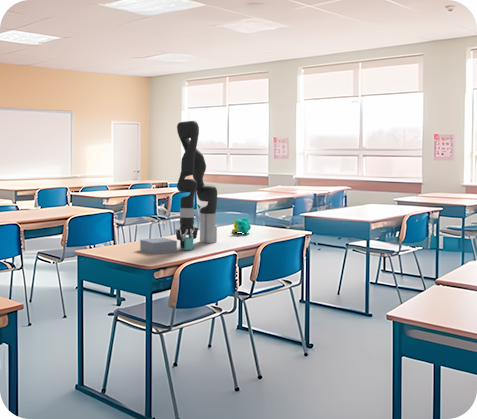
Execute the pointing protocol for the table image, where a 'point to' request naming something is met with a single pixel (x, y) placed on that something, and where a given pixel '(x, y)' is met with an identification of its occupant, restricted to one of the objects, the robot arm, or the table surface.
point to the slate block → (158, 245)
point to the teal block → (188, 243)
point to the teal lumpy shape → (241, 225)
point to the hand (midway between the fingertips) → (186, 247)
